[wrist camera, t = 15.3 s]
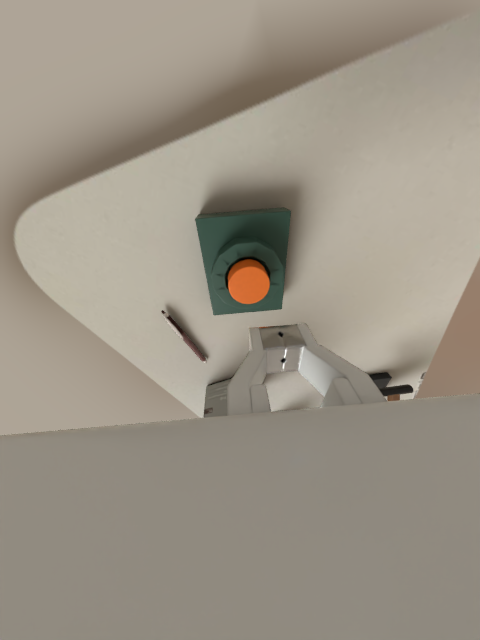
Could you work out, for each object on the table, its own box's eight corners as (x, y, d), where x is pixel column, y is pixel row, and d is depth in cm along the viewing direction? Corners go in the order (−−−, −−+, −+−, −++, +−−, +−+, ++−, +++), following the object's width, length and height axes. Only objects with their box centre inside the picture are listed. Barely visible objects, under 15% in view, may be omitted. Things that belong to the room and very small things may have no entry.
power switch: (371, 385, 29) (382, 393, 27) (402, 381, 29) (417, 389, 27) (374, 455, 31) (385, 469, 29) (403, 452, 31) (417, 465, 29)
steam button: (225, 260, 16) (226, 268, 15) (266, 257, 16) (270, 264, 15) (229, 296, 18) (230, 305, 17) (265, 293, 18) (269, 302, 17)
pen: (160, 309, 23) (158, 314, 22) (165, 307, 23) (163, 312, 22) (204, 362, 29) (204, 367, 29) (209, 360, 29) (208, 365, 28)
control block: (198, 214, 17) (192, 222, 14) (284, 207, 17) (298, 213, 14) (214, 305, 23) (212, 325, 20) (277, 299, 23) (285, 318, 20)
